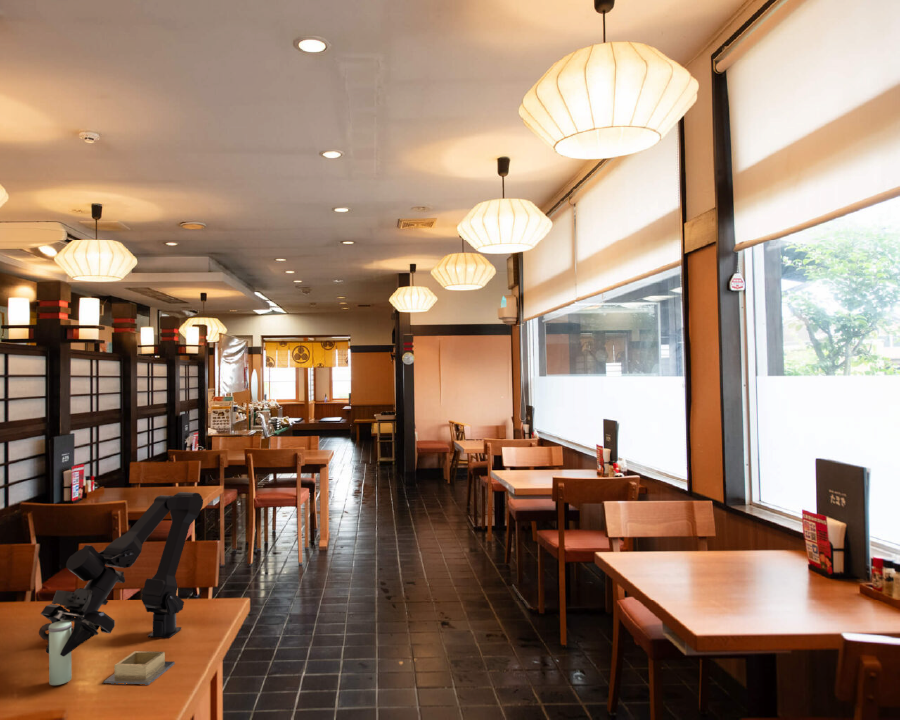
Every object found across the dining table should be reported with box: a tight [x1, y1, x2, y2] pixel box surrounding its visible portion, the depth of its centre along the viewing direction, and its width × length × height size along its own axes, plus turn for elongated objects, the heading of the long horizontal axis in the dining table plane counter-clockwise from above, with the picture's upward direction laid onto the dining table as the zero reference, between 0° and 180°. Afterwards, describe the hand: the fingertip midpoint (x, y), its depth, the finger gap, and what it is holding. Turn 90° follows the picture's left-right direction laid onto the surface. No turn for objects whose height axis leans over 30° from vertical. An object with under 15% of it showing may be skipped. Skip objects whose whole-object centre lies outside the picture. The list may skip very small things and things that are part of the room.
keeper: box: [103, 650, 176, 686], centre depth 151 cm, size 11×11×4 cm
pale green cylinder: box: [48, 620, 73, 686], centre depth 147 cm, size 5×5×13 cm
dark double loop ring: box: [38, 617, 76, 642], centre depth 172 cm, size 12×10×8 cm
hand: (54, 654), depth 146 cm, fingers closed on pale green cylinder, 4 cm apart
